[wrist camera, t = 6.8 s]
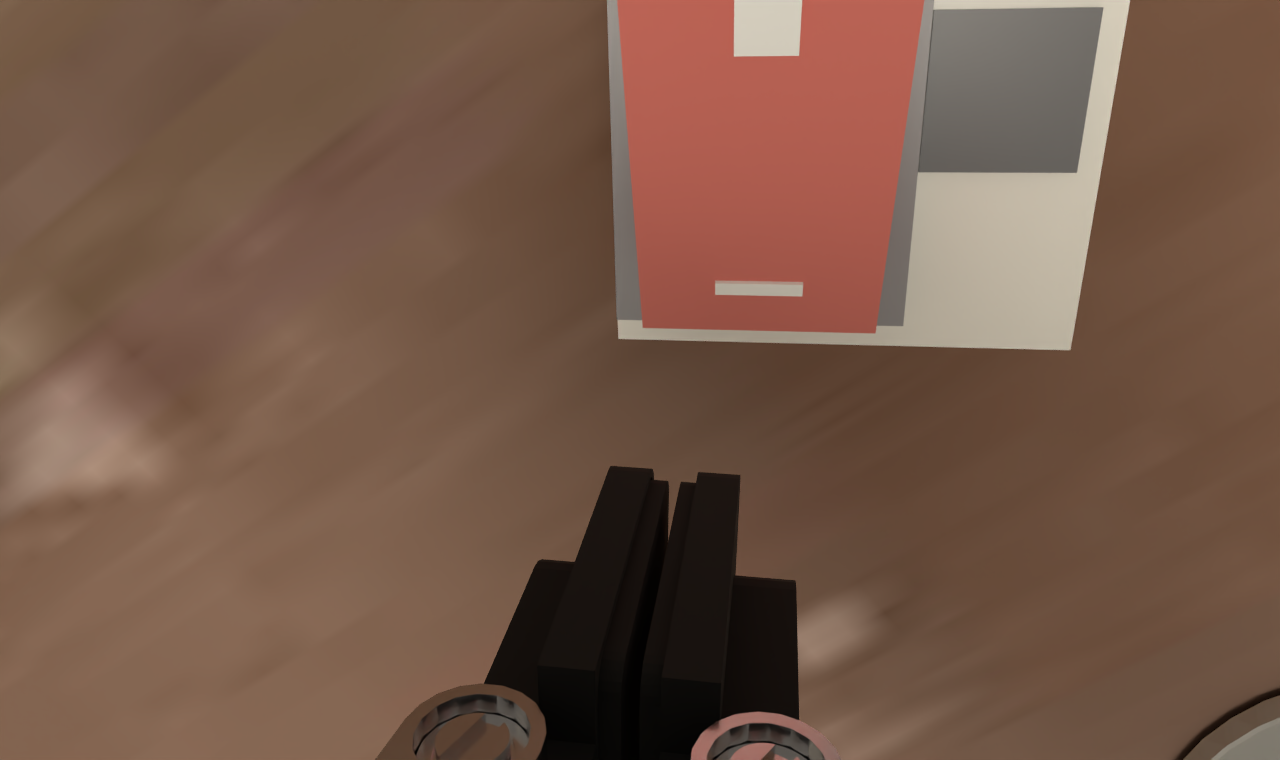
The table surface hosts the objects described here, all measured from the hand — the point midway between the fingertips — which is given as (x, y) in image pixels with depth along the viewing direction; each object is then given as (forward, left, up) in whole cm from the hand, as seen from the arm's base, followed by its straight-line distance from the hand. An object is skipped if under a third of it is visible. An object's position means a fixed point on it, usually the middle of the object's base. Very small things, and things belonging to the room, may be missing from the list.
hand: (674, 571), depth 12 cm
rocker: (-1, -5, -10) cm, 11 cm away
